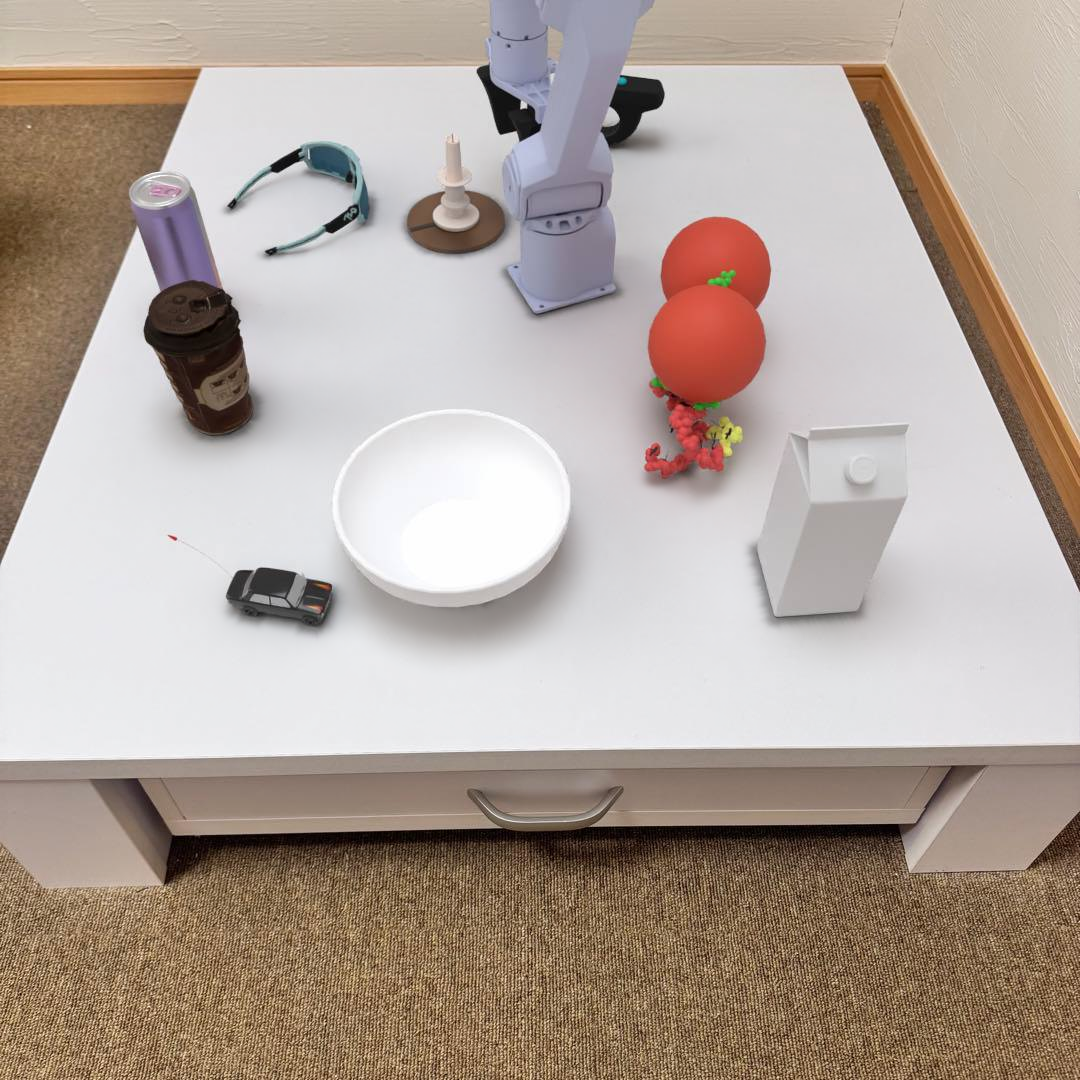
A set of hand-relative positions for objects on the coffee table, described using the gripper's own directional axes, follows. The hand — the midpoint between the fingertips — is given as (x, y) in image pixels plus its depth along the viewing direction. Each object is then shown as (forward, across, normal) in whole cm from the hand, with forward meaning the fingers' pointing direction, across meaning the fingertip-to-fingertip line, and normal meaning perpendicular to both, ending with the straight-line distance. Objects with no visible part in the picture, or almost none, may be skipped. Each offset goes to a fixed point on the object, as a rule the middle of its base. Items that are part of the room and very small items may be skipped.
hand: (520, 149), depth 116 cm
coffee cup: (+8, -19, +39) cm, 44 cm away
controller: (+8, +8, -15) cm, 19 cm away
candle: (+7, 0, +8) cm, 10 cm away
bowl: (+8, -43, +24) cm, 50 cm away
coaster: (+7, 0, +8) cm, 11 cm away
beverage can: (+8, -4, +38) cm, 39 cm away
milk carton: (+8, -58, -2) cm, 58 cm away
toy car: (+8, -42, +41) cm, 59 cm away
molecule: (+8, -35, -4) cm, 36 cm away
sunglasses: (+8, +9, +23) cm, 26 cm away
